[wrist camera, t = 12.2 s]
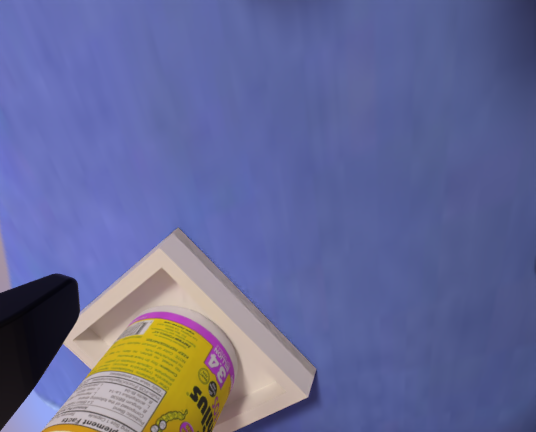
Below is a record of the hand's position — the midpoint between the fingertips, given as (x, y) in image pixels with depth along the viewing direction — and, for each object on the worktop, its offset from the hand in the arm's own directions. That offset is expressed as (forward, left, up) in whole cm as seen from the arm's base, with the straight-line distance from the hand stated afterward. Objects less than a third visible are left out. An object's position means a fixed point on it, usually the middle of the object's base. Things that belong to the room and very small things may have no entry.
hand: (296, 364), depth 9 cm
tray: (-3, +16, -13) cm, 21 cm away
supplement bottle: (-3, +16, -13) cm, 20 cm away
